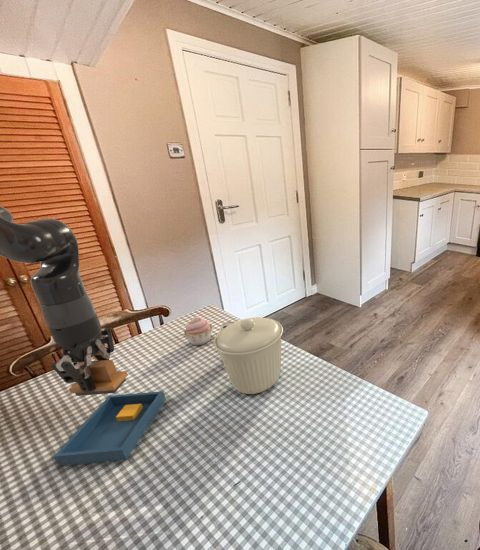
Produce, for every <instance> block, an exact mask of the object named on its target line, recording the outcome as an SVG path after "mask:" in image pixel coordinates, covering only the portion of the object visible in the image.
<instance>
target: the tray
mask: <svg viewBox="0 0 480 550" xmlns="http://www.w3.org/2000/svg"><path fill="white" fill-rule="evenodd" d="M164 392H165V391H164V390H161V391H149V392H137V393H125V394H124V393H123V394H112V395H111V394H110V395H108V396H107V397H106V398H105V400H103V401H102V403H101V404H100V405H99V406H98V407H97V408H96V410H94V411H93V413H92V414H90V416H89V417H88V418H87V419H86V420H85V421H84V422H83V424H82V425H81V426H80V427H79V428H78V429H77V430H76V431H75V433H73V435H72V436H71V437H70V438H69V439H68V440H67V441H66V443H64V444H63V446H62V447H61V448H60V449H59V450H58V451H57V452H56V454H55V455H54V456H53V459H54V461H55V462H56V464H57V466H58V467H59V468H61V467H69V466H78V465H89V464H99V463H109V462H117V461H127V460H128V458H129V456H130V455H131V454H132V452H133V451H134V449H135V447H136V446H137V444H138V443H139V442H140V440H141V439H142V437H143V436H144V433H146V432H147V430H148V427H150V425H151V424H152V422H153V420H154V419H155V417H156V416H157V415H158V413H159V411H160V410H161V408H162V407H163V405H164V404H165V403H166V401H167V398H166V396H165V393H164ZM131 404H142V406H143V409H142V410H141V411H140V413H139V414H138V415H137V417H136V418H135V419H134V420H128V421H117V419H116V416H117V415H118V414H119V412H120V411H121V410H122V409H123V407H124V406H125V405H131Z"/></svg>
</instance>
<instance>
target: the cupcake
mask: <svg viewBox="0 0 480 550" xmlns="http://www.w3.org/2000/svg"><path fill="white" fill-rule="evenodd" d="M212 330H213V324H212V323H211V324H210V323H209V321H208V320H206V319H205V318H203V317H201V316H194V317H192V319H190V321H189V322H188V323H187V324H186V325H185V330H184V331H183V333H184V334H183V336H184V337H185V338H187V339H188V341H189V343H190V344H191V345H192V346H202V345H205V344H207V343H208V342H210V340H211V338H212V337H211V336H212Z"/></svg>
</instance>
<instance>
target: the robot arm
mask: <svg viewBox="0 0 480 550" xmlns="http://www.w3.org/2000/svg"><path fill="white" fill-rule="evenodd" d="M0 256H1V257H2V258H5V259H8V260H10V261H13V262H16V263H22V264H38V263H40V267H39V269H38V270H37V271H36V272H35V273H34V274H33V275H31V277H30V280H29V281H30V285H31V288H32V290H33V293H34V295H35V297H36V299H37V301H38V303H39V307H40V311H41V314H42V315H41V316H42V317H43V319H44V322H45V323H46V326H47V329H48V330H49V332H50V334H51V337H52V339H53V341H54V343H55V344H56V345H57V346H60V347H61V349H62V358H60V360H59V361H55V362H52V364H51V368H52V369H53V371H55V373H56V374H57V375H58V376H59V377H60V379H62V380H63V382H64V383H65V384H71V383H76V382H78V384H79V386H80V388H81V390H82V391H83V392H92V391H94V390H95V389H96V386H95V384H94V382H93V379H92V377H91V376H90V370H89V367H90V366H91V365H92V362H91V361H92V358H93V359H94V361H100V360H110V358H111V355H110V354H111V353H114V352H115V345H114V340H113V334H112V329H111V328H110V327H107V328H106V327H105V328H103V327H102V325H101V321H100V320H99V317H98V314H97V312H96V309H95V306H94V303H93V301H92V300H91V298H90V296H89V294H88V291H87V289H86V287H85V285H84V282H83V279H82V277H81V275H80V274H81V273H80V250H79V242H78V238H77V236H76V235H75V233H74V231H73V230H72V228H70V227H69V226H68V225H67V224H66V223H64V222H63V221H61V220H60V219H59V220H58V219H55V218H40V219H36V220H32V221H28V222H25V223H16V222H14V217H13V214H12V213H11V212H10V211H9V209H7V208H6V207H3V206H2V205H0ZM105 344H106V345H107V347H106V346H105ZM78 362H84V364H78ZM80 369H82V370H83V373H80Z"/></svg>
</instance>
